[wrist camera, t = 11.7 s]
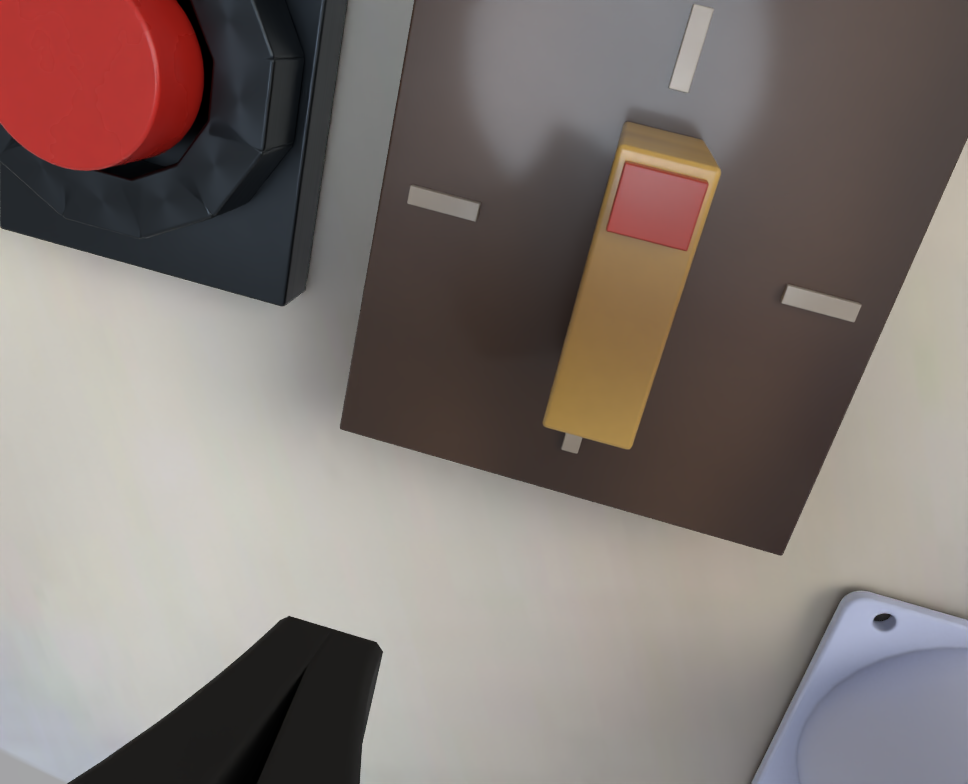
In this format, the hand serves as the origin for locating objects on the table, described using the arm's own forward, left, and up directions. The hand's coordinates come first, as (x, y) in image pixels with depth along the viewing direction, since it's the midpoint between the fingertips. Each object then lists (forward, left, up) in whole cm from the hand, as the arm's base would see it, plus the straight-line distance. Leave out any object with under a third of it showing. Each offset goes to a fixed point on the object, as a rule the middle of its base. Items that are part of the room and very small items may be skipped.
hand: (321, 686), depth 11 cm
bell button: (+8, -6, -8) cm, 13 cm away
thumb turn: (-3, -5, -8) cm, 10 cm away
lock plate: (-3, -5, -10) cm, 12 cm away
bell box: (+8, -6, -10) cm, 14 cm away
